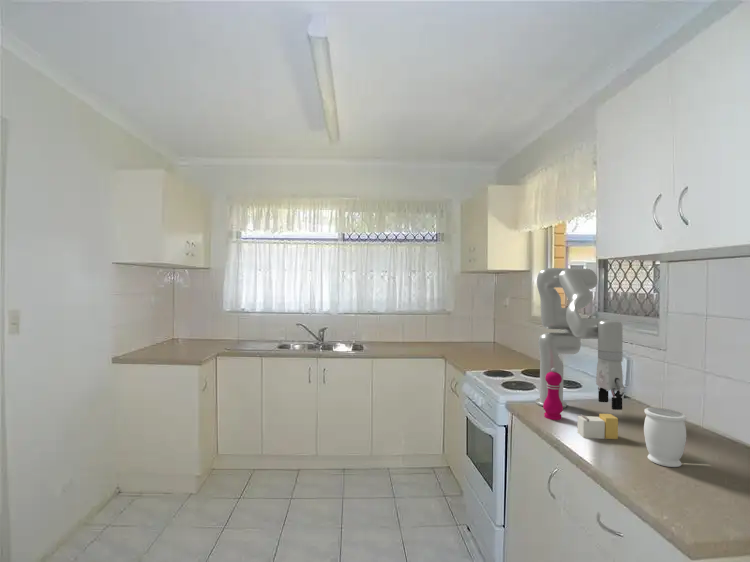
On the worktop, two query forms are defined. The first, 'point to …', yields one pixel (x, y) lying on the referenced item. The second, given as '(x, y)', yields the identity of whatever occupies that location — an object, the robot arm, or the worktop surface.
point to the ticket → (591, 427)
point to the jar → (665, 436)
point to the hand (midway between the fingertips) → (609, 405)
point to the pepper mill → (553, 396)
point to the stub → (610, 426)
